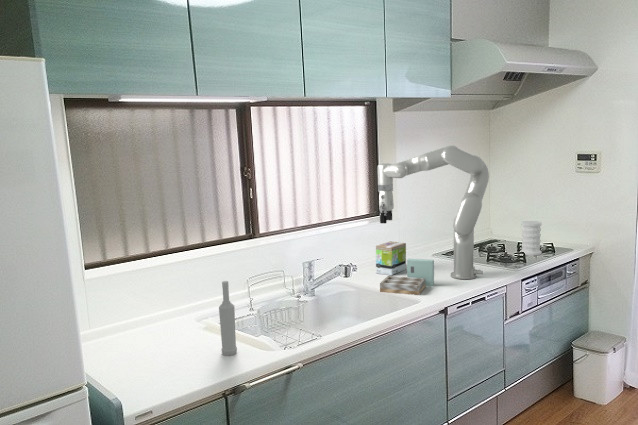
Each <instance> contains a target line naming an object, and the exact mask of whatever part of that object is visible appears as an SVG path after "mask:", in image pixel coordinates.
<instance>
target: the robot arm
mask: <svg viewBox="0 0 638 425" xmlns="http://www.w3.org/2000/svg"><path fill="white" fill-rule="evenodd" d="M447 165H450V166H451V167H453V168H455V169H458V170H460V171H462V172H465V173H466V174H469V175H470V178H469V181H468V184H467V187H466V190H465V193H464V195H463V197H462V199H461V203H460V205H459V208H458V210H457V214H456V216H455V218H454V219H453V225H452V226H453V271H452V272H451V273H450V277H451V278H453V279H456V280H473V279H476V278H477V276H478V275H483V274H484V273H483V272H484V271H483V270H481V269H476V267H475V266H474V256H475V255H474V251H475V250H474V244H475V239H474V238H475V236H474V234H475V232H474V230H475V227H476V225H477V221H478V219H479V217H480V214H481V212H482V211H481V210H482V207H483V199H484V195H485V194H486V189H487V186H488V184H489V178H490V174H489V173H490V172H489V168H488V165H487V164H486V163H485V161H484V160H483V159H482V158H481V157H480V156H478V155H473V154H471V153H469V152H467V151H464V150H462V149H460V148H458V146H456V145H448V146H445V147H441V148H439V149H435V150H433V151H429V152H425V153H423V154H420V155H419V156H416V157H413V158H409V159H406V160H403V161H400V162H397V163H393V164H392V163H389V162H388V163H379V164H378V165H377V168H376V170H377V192H378V193H379V195H378V206H379V207H378V209H379V223H380V224H387V221H393V209H394V208H395V207H394V205H395V204H394V194H393V192H394V180H393V179H403V178H405V177H406V176H410V175H412V174H416V173H419V172H427V171H431V170H434V169H437V168H442V167H444V166H447Z"/></svg>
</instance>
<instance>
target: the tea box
mask: <svg viewBox="0 0 638 425" xmlns="http://www.w3.org/2000/svg"><path fill="white" fill-rule="evenodd" d="M406 269H407V243H406V242H400V241H398V242H397V241H387V242H385V243H381V244H377V245H376V246H375V273H376V274H379V275H385V276H394V275H395V274H398V273H400V272H403V271H405V270H406ZM406 271H407V270H406Z"/></svg>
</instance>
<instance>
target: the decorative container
mask: <svg viewBox="0 0 638 425" xmlns="http://www.w3.org/2000/svg"><path fill="white" fill-rule="evenodd" d="M520 225H521V226H522V228H521V230H522V232H521V236H522V238H521V242H522V244H521V249H520V251H523V252H524V253H525V254H526V255H525V256H540V255H543V254H542V252H543V251H542V250H541V249H540V248H541V230H542V229H541V226H542V225H543V224H542V222H541V221H538V220H524V221H521V224H520ZM520 251H519V252H520Z"/></svg>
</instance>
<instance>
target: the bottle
mask: <svg viewBox="0 0 638 425" xmlns="http://www.w3.org/2000/svg"><path fill="white" fill-rule="evenodd" d="M221 287H222V300H223V301H222V302H221V304H220V305H219V306H218V314H219V324H220V337H221V355H223V356H225V357H232V356H234V355H236V354H237V352H238V351H237V350H238V348H237V343H236V341H237V340H236V338H237V337H236V318H235V317H236V315H235V312H236V311H235V305H234V304H233V303H232V302H231V300H230V292H229V281H228V280H224V281H222V282H221Z"/></svg>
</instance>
